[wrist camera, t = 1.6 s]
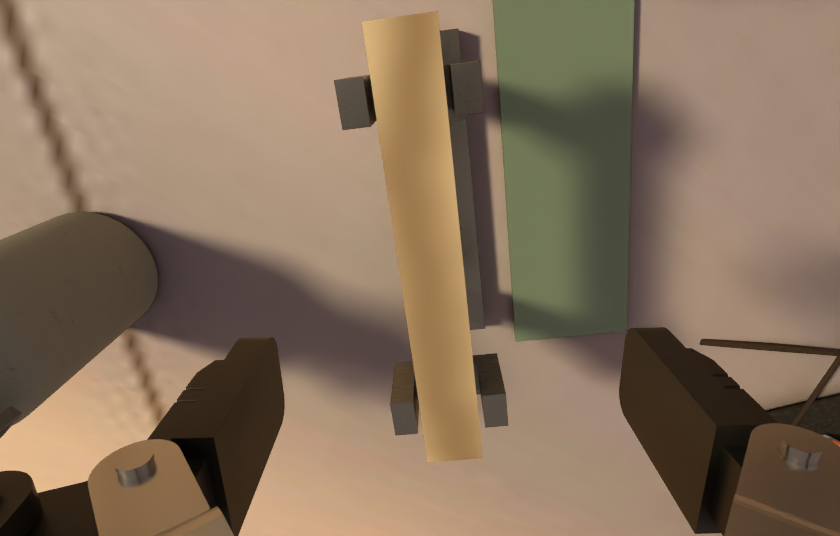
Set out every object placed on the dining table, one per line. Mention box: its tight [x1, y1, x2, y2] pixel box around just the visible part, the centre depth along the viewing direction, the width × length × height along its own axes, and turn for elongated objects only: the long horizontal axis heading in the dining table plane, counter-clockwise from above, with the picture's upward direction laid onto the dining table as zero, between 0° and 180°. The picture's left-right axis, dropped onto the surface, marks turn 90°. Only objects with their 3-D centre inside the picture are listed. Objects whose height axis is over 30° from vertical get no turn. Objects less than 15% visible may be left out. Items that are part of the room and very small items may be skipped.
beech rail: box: [362, 11, 483, 463], centre depth 26 cm, size 3×22×3 cm, turn 7°
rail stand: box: [334, 29, 508, 435], centre depth 32 cm, size 6×22×16 cm, turn 7°
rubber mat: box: [493, 0, 634, 342], centre depth 38 cm, size 9×26×1 cm, turn 7°
